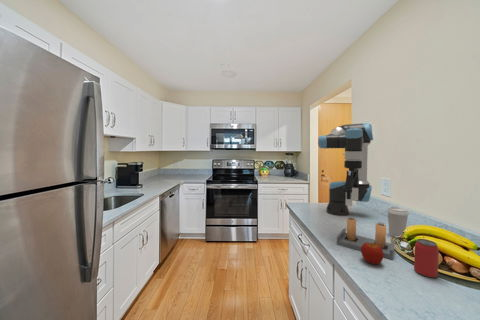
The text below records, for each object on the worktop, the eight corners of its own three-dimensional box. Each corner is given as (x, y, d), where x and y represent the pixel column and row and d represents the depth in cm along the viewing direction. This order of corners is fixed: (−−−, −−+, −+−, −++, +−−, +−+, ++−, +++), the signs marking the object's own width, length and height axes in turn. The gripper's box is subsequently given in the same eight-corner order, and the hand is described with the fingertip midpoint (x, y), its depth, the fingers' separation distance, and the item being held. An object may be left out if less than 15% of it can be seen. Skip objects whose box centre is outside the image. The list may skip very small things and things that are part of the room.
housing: (343, 235, 109) (344, 212, 109) (394, 248, 95) (395, 221, 94) (336, 244, 99) (337, 218, 99) (392, 259, 85) (393, 230, 84)
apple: (372, 269, 79) (373, 249, 78) (356, 258, 86) (356, 240, 86) (387, 265, 81) (388, 246, 80) (370, 256, 88) (370, 238, 88)
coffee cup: (402, 233, 112) (403, 207, 111) (412, 241, 103) (413, 212, 102) (382, 231, 115) (383, 205, 114) (390, 238, 105) (391, 210, 105)
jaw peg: (356, 242, 101) (357, 217, 101) (354, 245, 98) (355, 219, 98) (347, 240, 104) (348, 215, 103) (345, 242, 101) (346, 217, 100)
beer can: (413, 273, 76) (414, 241, 75) (414, 266, 81) (415, 236, 80) (437, 281, 71) (438, 247, 71) (437, 273, 76) (439, 242, 75)
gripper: (350, 159, 111) (349, 197, 112) (337, 161, 92) (336, 206, 93) (366, 159, 106) (365, 199, 107) (356, 161, 87) (355, 209, 88)
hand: (352, 202), depth 100 cm, fingers open, 13 cm apart
